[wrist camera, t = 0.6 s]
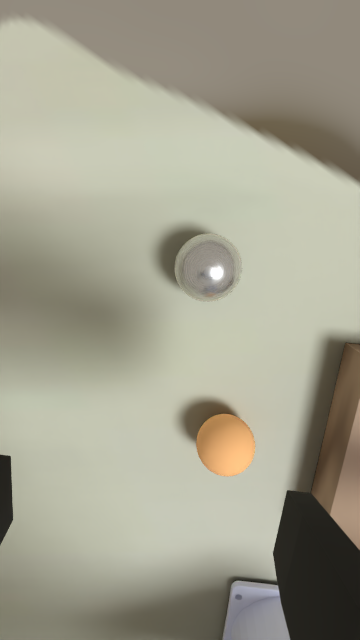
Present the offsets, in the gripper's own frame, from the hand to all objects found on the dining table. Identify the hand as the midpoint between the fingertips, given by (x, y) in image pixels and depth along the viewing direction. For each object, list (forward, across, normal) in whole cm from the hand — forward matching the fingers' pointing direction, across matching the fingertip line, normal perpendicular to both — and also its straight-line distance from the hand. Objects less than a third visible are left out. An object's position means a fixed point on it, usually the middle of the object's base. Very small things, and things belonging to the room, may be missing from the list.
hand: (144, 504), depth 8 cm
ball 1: (+9, -1, -6) cm, 10 cm away
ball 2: (+9, -3, +4) cm, 10 cm away
